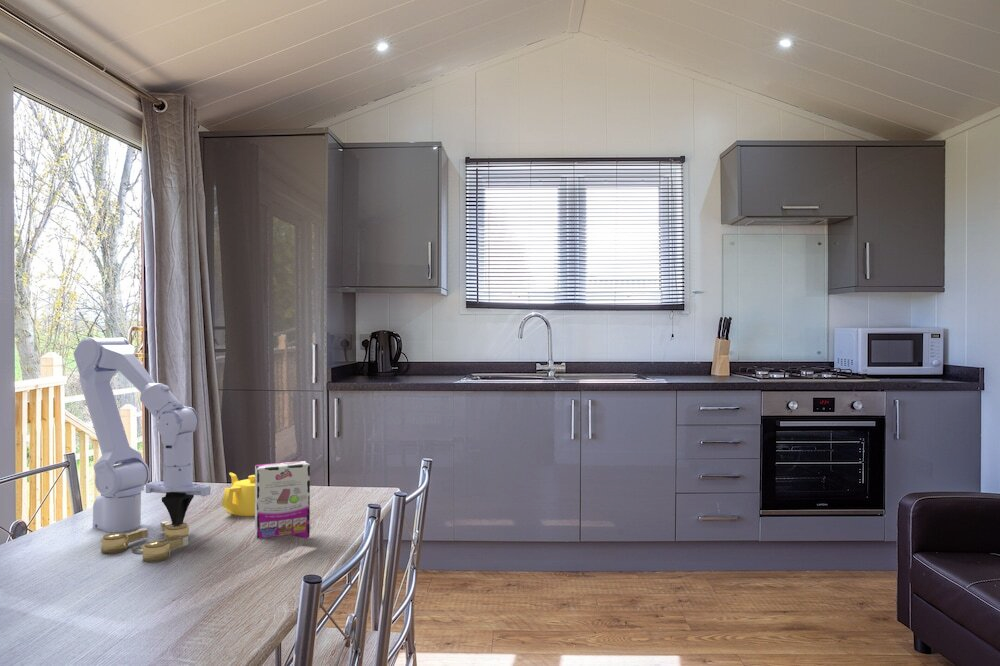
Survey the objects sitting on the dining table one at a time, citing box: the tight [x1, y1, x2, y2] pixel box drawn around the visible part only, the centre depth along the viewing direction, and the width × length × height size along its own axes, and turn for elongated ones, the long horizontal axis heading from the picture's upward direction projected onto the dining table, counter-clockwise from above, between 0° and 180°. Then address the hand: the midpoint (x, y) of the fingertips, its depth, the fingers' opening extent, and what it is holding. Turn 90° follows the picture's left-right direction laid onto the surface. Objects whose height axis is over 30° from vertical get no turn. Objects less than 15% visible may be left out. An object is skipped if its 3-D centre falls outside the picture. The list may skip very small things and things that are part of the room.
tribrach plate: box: [131, 543, 144, 555], centre depth 131 cm, size 22×21×2 cm
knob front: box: [141, 535, 189, 563], centre depth 127 cm, size 9×5×3 cm, turn 158°
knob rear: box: [159, 520, 190, 541], centre depth 137 cm, size 9×5×3 cm, turn 48°
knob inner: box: [100, 527, 149, 555], centre depth 131 cm, size 9×5×3 cm, turn 158°
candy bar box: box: [254, 460, 311, 539], centre depth 142 cm, size 11×5×16 cm, turn 118°
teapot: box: [221, 472, 255, 517], centre depth 160 cm, size 14×13×10 cm
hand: (177, 527), depth 140 cm, fingers closed
